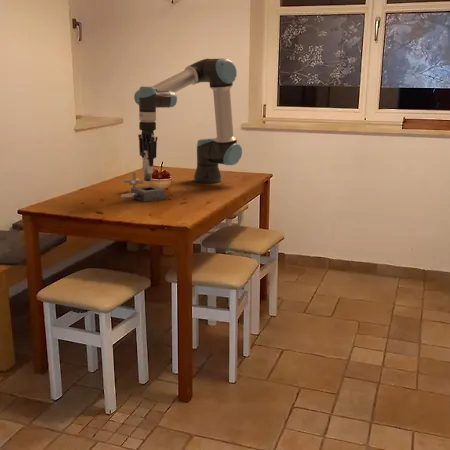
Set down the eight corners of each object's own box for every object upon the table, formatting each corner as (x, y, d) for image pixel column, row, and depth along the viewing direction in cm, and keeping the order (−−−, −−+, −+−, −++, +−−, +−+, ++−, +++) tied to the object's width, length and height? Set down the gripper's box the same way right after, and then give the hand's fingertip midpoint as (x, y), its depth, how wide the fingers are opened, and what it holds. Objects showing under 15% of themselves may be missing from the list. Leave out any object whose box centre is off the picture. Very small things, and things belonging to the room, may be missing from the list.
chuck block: (153, 194, 287) (153, 185, 285) (166, 199, 277) (166, 189, 276) (115, 199, 275) (115, 189, 274) (128, 204, 266) (128, 194, 264)
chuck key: (153, 179, 280) (153, 149, 276) (157, 180, 277) (157, 150, 274) (138, 180, 275) (138, 150, 272) (142, 181, 272) (142, 151, 269)
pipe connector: (140, 194, 287) (140, 173, 284) (121, 193, 289) (120, 172, 286) (147, 190, 296) (147, 170, 294) (128, 189, 298) (128, 169, 296)
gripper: (131, 120, 273) (132, 170, 279) (149, 123, 261) (150, 175, 267) (145, 119, 278) (145, 169, 284) (164, 122, 265) (164, 174, 271)
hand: (147, 172), depth 275 cm, fingers closed on chuck key, 3 cm apart
